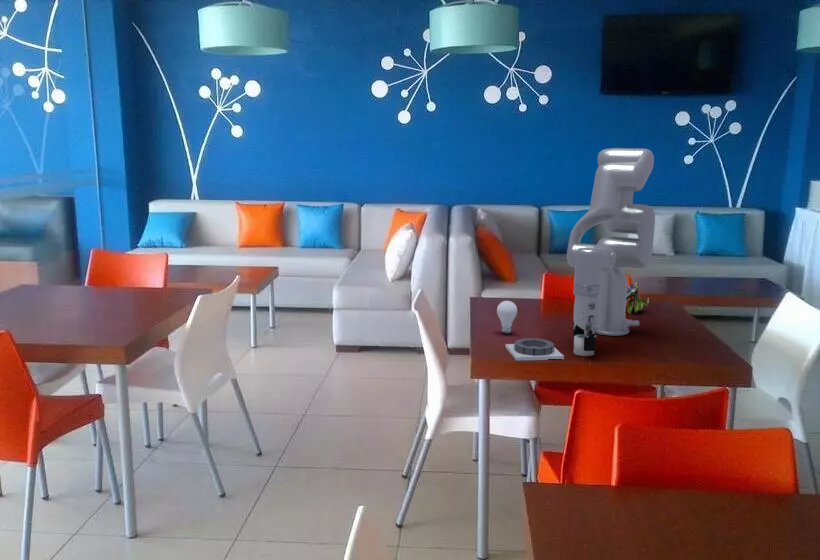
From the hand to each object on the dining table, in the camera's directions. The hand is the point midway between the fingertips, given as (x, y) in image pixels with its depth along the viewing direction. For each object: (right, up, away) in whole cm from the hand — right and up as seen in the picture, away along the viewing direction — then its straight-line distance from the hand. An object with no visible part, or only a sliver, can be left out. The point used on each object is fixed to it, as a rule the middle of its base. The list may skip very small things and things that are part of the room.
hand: (583, 346), depth 218 cm
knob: (0, -2, +1) cm, 2 cm away
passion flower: (+31, +8, +56) cm, 65 cm away
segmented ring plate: (-15, -2, 0) cm, 15 cm away
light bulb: (-20, +2, +23) cm, 30 cm away
